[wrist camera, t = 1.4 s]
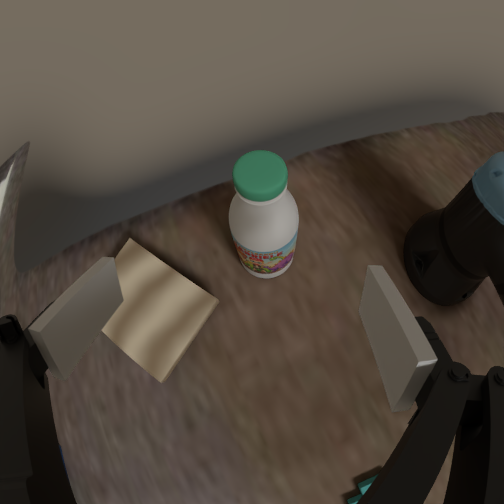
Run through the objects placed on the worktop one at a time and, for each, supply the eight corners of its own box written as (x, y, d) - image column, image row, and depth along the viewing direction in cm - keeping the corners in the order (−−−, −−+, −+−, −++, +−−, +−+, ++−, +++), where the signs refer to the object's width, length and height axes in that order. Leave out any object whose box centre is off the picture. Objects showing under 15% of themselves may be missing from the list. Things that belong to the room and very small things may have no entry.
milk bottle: (240, 229, 43) (216, 137, 25) (292, 228, 43) (302, 134, 24) (238, 279, 41) (208, 211, 22) (294, 279, 40) (310, 209, 21)
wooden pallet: (223, 305, 39) (217, 299, 35) (172, 380, 36) (160, 382, 32) (142, 249, 43) (129, 237, 39) (97, 315, 40) (81, 309, 36)
